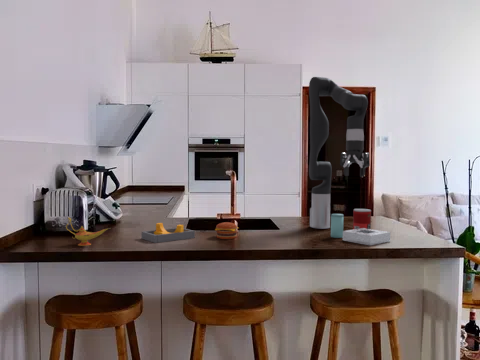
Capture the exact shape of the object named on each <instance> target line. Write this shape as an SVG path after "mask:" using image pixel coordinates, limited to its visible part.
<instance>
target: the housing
mask: <svg viewBox="0 0 480 360" xmlns="http://www.w3.org/2000/svg"><path fill="white" fill-rule="evenodd" d="M342 241H344V242H349V243H355V244H361V245H365V246H366V245H367V246H375V245H381V244H384V243H389V242H391V232H390V231H384V230H378V229H373V228H372V229H366V228H359V229H353V228H352V229H346V230H343V237H342Z"/></svg>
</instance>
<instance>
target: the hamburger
mask: <svg viewBox="0 0 480 360" xmlns="http://www.w3.org/2000/svg"><path fill="white" fill-rule="evenodd" d="M237 229H239V227H238V226H237V225H236V224H235V223H233V222H229V221H225V222H220V223H218V224H216V227H215V229H214V231H216V238H217V239H220V240H221V239H222V240H232V239H237V238H238V234H237V233H238V232H237V231H238V230H237Z"/></svg>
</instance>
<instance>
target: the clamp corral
mask: <svg viewBox="0 0 480 360" xmlns="http://www.w3.org/2000/svg"><path fill="white" fill-rule="evenodd" d="M176 228H177V227H172V228H171V227H170V228H164V229H165V230H166V231H167V232H169V234H160V235H155V234H154V232H155V231H156V229H155V230H154V229H153V230H144V231H143V230H142V231H141V239H142V240H145V241H147V242H151V243H154V244H157V243H165V242H172V241H174V242H175V241H180V240H189V239H195V236H196V232H195V230H194V229H193V230H192V229H189V228H185V227H184V232H177V233H174V232H175V230H176Z"/></svg>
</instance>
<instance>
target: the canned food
mask: <svg viewBox="0 0 480 360" xmlns="http://www.w3.org/2000/svg"><path fill="white" fill-rule="evenodd" d="M352 215H353V216H352V217H353V218H352V221H353V222H352V223H353V224H352V230H353V229H359V228H366V229H371V228H372V227H371V225H372V221H371V220H372V210H371V209H368V208H354V209H353V213H352Z"/></svg>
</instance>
